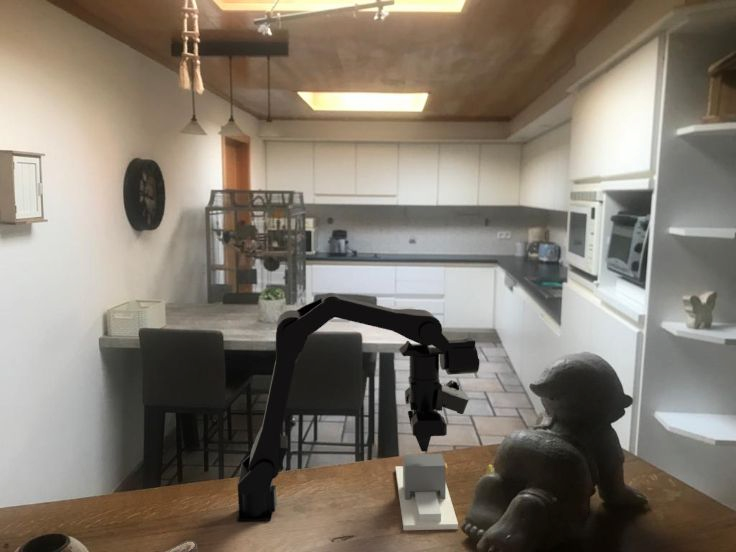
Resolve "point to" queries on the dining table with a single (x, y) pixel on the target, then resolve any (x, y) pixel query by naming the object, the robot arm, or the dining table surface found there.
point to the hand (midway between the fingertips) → (424, 450)
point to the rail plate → (412, 510)
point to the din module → (424, 473)
